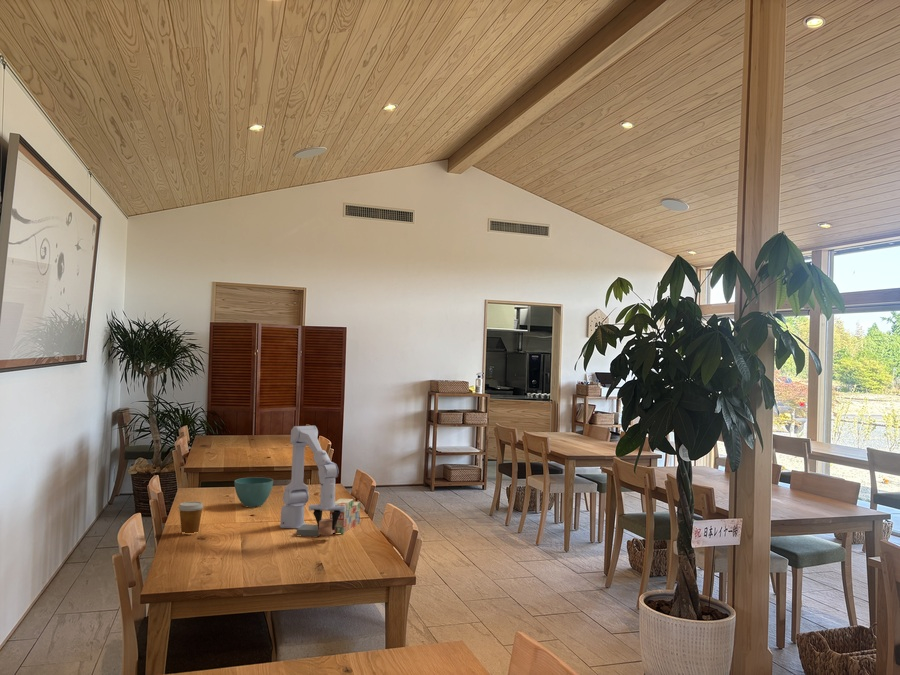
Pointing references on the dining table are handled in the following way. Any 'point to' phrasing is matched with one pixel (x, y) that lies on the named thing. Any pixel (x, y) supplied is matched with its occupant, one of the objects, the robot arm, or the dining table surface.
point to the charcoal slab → (308, 530)
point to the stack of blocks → (347, 515)
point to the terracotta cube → (326, 527)
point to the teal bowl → (253, 490)
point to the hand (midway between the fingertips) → (326, 529)
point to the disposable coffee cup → (190, 516)
